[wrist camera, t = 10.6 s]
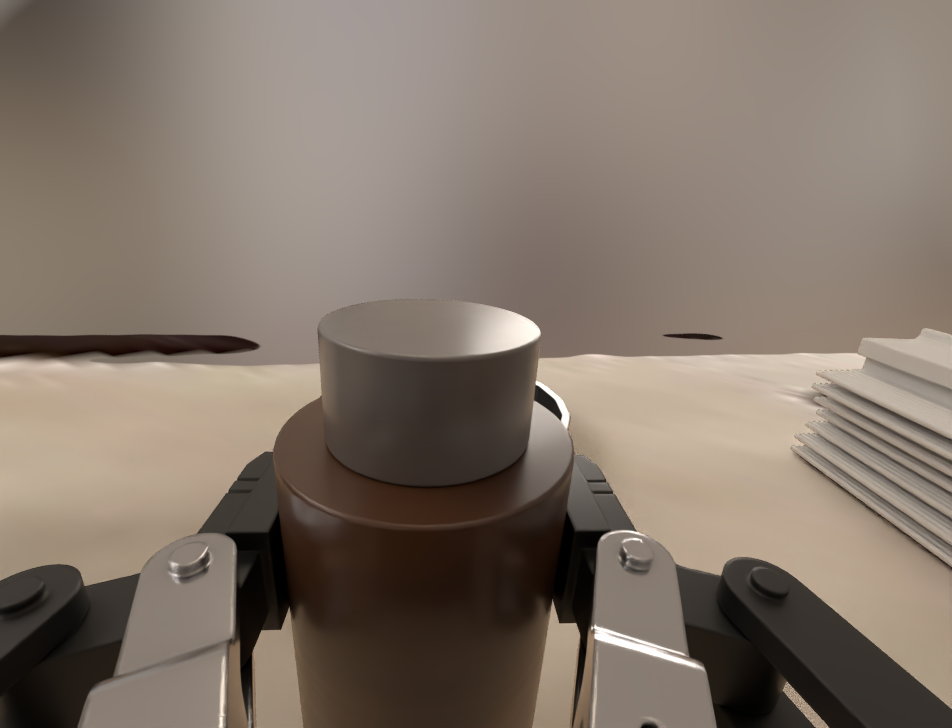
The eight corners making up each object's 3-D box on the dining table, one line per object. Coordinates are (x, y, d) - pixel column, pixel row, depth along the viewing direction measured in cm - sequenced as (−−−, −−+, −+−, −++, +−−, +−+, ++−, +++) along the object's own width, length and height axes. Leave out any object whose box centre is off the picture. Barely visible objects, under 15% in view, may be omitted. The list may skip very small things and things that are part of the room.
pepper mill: (311, 955, 8) (231, 400, 4) (310, 676, 13) (272, 291, 9) (564, 835, 10) (670, 366, 6) (482, 629, 14) (512, 289, 10)
